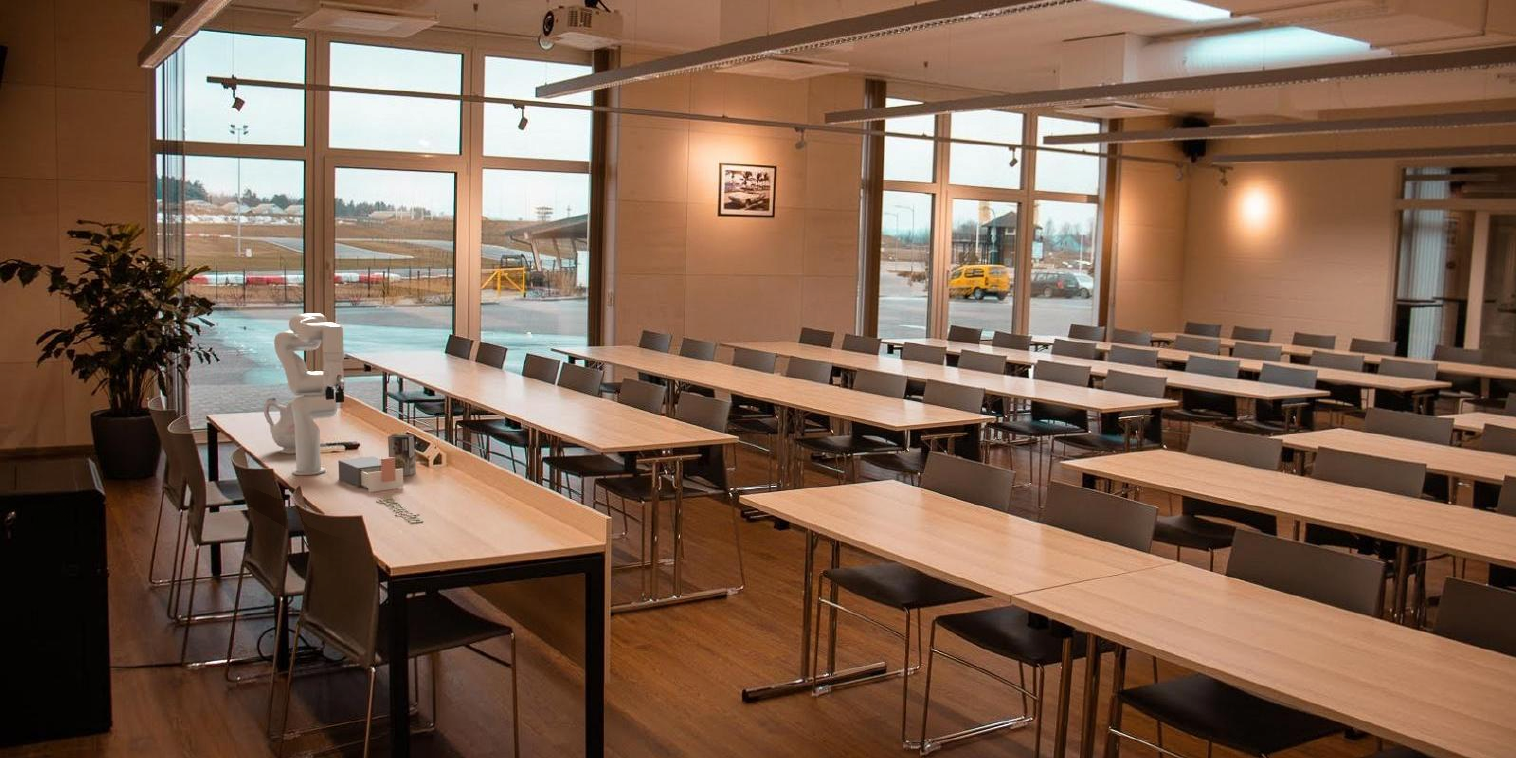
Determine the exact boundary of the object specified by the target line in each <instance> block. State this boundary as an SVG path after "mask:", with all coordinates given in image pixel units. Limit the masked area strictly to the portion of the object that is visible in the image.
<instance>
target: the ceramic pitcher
mask: <svg viewBox="0 0 1516 758" xmlns="http://www.w3.org/2000/svg"><path fill="white" fill-rule="evenodd" d="M276 399H277V398H275V397H269V398H267V400H266V402H265V403H264V406H263V414H264V417H265V419H266V422H267V423H268V425H269V428H270V429H269V430H270V433H271V438H272V440H273V443H275V444H276V445H277V446H278V447H280V448H283V449H282V450H281V451H280V453H282V452H283V453H282V454H289V455H291V454H296V445H295V425H294V418H293V413H292V408H291V405H292V402H293V400H291V401H289V402H288V403H286V405H283V404H279V403H278V402H277V401H276ZM270 407H275V408H276V409H277V410H279V415H280V416H279V417H280V418H279V420H278V421H277V422H276V423H274V420H273V419H272V416H271V414H270Z"/></svg>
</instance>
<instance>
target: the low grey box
mask: <svg viewBox="0 0 1516 758" xmlns="http://www.w3.org/2000/svg"><path fill="white" fill-rule="evenodd" d="M381 459H382V458H378V457H376V456H371V455H370V456H364V457H357V458H356V457H355V458H347V459H340V460H338V462H337V463H338V480H339V481H340V482H343V483H345V484H348V485H349V486H352V487H354V488H357V489H364V488H366V487H364V486H362V485H360V470H363V469H371V468H379V467H381Z"/></svg>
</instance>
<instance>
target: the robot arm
mask: <svg viewBox="0 0 1516 758" xmlns="http://www.w3.org/2000/svg"><path fill="white" fill-rule="evenodd" d="M288 327H289V330H285V331H281V332H278V333H277V334H276V335H275V336H274V340H273V345H274V351H275V353H276V355H277V356H276V357H277V358H278V360H279V362H280V363H281V364H282V367H283V369H284V372H285V375H286V380H287V382H288V383H287V384H288V386H289V390H290V392H291V393H292V394H293V395H294V396H298V397H295V398H294V399H292V401H293V402H292V405H291V408H292V413H293V418H294V425H295V445H296V453H295V463H296V464H295V467H296V468H294V469H293V470H292V471H291V473H292V475H295V476H315V475H320V474H324V473H325V472H326V468H325V467H322V459H321V457H322V456H321V453H322V452H321V433H320V432H321V430H320V427H319V425H317V423H315V421H314V419H315V420H316V419H323V418H331V417H335V415H336V414H337V412H338V404H339V403H344V402H345V377H344V375H345V374H344V363H343V361H345V357H344V355H345V353H344V330H343V329H344V328H343V326H342V325H340V324H337V323H335V322H328V320H327V317H326V316H325V315H324V314H322V313H300V314H296V315H293V316H292V317H290V319H289V321H288ZM321 344H322V358H323V359H322V361H323V365H322V371H319V370H318V371H309V369H308V368H307V363H306V361H305V360H304V359H303V358H302V357H301V356H300V355H299V354H297V353H296V352H301V351H302V352H303V351H315V350H317V349H319V347H320V346H321Z"/></svg>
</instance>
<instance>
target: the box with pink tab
mask: <svg viewBox="0 0 1516 758" xmlns="http://www.w3.org/2000/svg"><path fill="white" fill-rule="evenodd" d="M380 459H381V467H379V468H371V469H363V470H360V485H362V486H364V487H365V488H367V489H368V492H369V493H372V492H381V491H386V490H387V491H388V490H394V489H400V488H404V475H403V468H401V469H395V457H390V458H389V457H382V458H380Z"/></svg>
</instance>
